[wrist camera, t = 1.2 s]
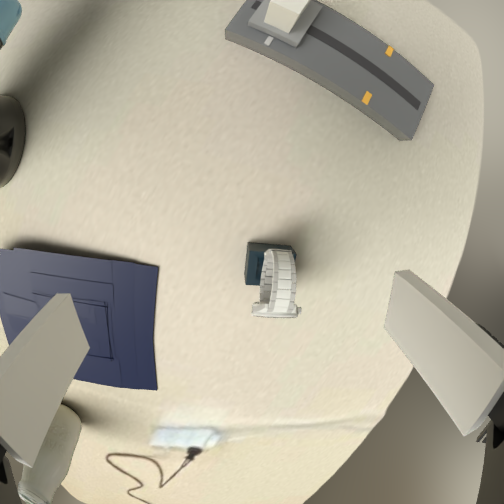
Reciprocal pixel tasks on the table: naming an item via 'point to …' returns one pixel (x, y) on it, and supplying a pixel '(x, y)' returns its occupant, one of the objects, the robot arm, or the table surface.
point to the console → (346, 66)
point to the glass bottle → (51, 458)
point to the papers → (88, 309)
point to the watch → (272, 279)
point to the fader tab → (285, 18)
